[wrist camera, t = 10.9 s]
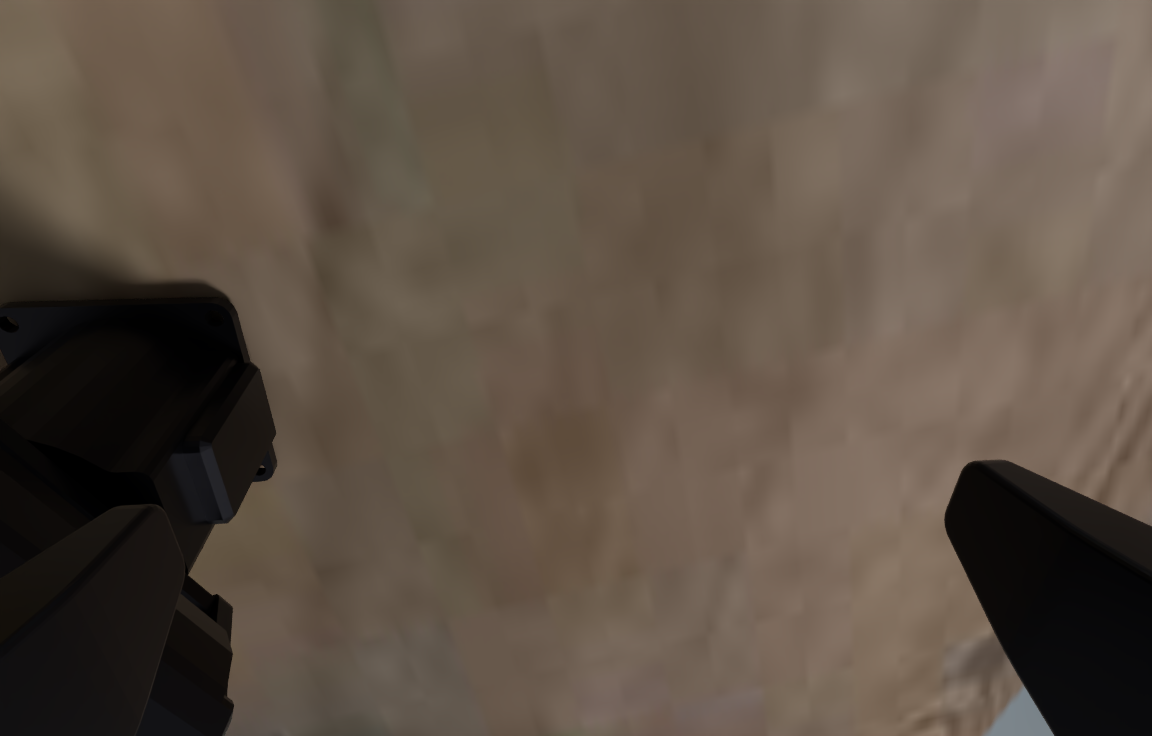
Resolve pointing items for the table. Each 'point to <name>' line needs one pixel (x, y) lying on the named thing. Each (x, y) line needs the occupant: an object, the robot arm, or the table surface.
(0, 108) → the table surface
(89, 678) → the robot arm
